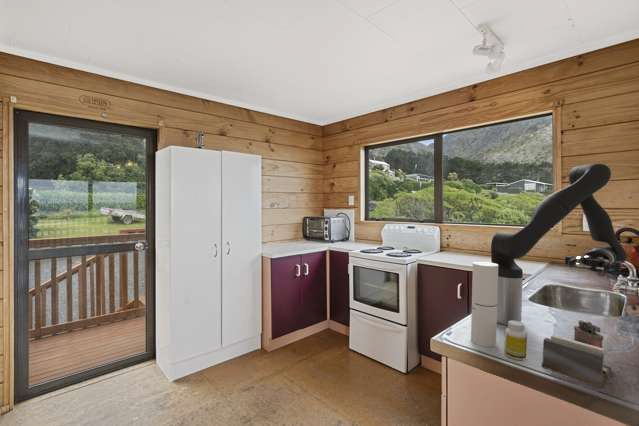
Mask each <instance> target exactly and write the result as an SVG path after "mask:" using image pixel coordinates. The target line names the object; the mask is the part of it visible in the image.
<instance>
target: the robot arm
mask: <svg viewBox="0 0 639 426" xmlns="http://www.w3.org/2000/svg"><path fill="white" fill-rule="evenodd" d="M611 171H612V170H611V169H610V167H609V166H608V165H606V164H604V163H590V164H582V165H578V166H574V167H573V168H572V169H571V170H570V171H569V173H568V180H569V185H568V186H565V187H563V188H561V189H559V190H556V191H555V192H553V193H551V194H549V195H547V196H546V197H545V198H544V199H542V200H541V201H539V202H538V203H537V204H536V206H534V208H533V209H532V211H531V212H532V213H531V215H530V220H529V222H528V223H526V225H525V226H523V227H522V228H521V229H520V230H518V231H516V232H511V231H498V232H496V233H495V234H494V235H493V237H492V239H491V244H490V253H491V254H490V258H491V260H490V262H491V263H496V264H498V295H497V324H500V325H505V326H508V321H511V320H513V321H519V322H522V307H523V281H524V280H523V278H524V277H523V275H524V274H523V273H524V272H523V269H522V267H520V266H519V265H518V264H517V263H516V262H515V260H517V259H521V258H524V257H525V256H526V255H527V254H528V253H530V251H531V250H532V249H533V247H535V246H536V244H538V242H539V241H540V240H541V239H542V238H543V237H544V236H545V235H546V234H547V233H549V232H550V231H551V230H552V229H553V228H554V227H555V226H557V224H559V223H560V222H561V221H562V220H563V219H565V218H566V217H568V216H569V214H570V213H571V212H573V210H575V209H576V208H577V207H578V206H580V207H581V209H582V212H583V214H584V216H585V220H586V222H587V226H588V230H589V235H590V238H591V240H593V241H595V242H600V243H606V244H608V245H596V246H591V248H590V250H589V251H587V252H585V253H584V254H583V255H581V256H576V257H575V255H572V254H571V255H567V256H565V257H564V264H565V265H567V266H569V267H571V268H572V267H575V266H576V267H580V268H585V269H587V270H589V271H591V272H595V273H603V272H608V271H613V270H614V271H616V272H620V271H621V270H622V265H623V263H625V262H626V261H627V258H628V255H627V252H626V250H625V248H624V247H623V246H622V244H621V242H620V241H619V240H618V238H617V236H616V234H615V230H614V225H613V222H612V220H611V217H610V215H609V214H608V212H607V211H606V210H605V208H603V206H602V205H601V204H600V203H599V202H598V201H597V199H596V198H595V196H594V194H595V193H596V192H598V191H599V190H601V189H602V188H603V187H605V186H606V185H607V184H608V182H609V181H610V179H611V175H612V172H611Z"/></svg>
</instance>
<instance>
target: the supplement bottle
mask: <svg viewBox="0 0 639 426" xmlns="http://www.w3.org/2000/svg"><path fill="white" fill-rule="evenodd" d="M527 342H528V334H527V332H526V331H525V323H524V322H523V321H521V322H519V321H513V320H511V321H508V325H507V328H505V330H504V355H505V356H506V357H508V358H509V359H512V360H514V361H515V360H516V361H524V360H526V359H527V346H528V345H527Z"/></svg>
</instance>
